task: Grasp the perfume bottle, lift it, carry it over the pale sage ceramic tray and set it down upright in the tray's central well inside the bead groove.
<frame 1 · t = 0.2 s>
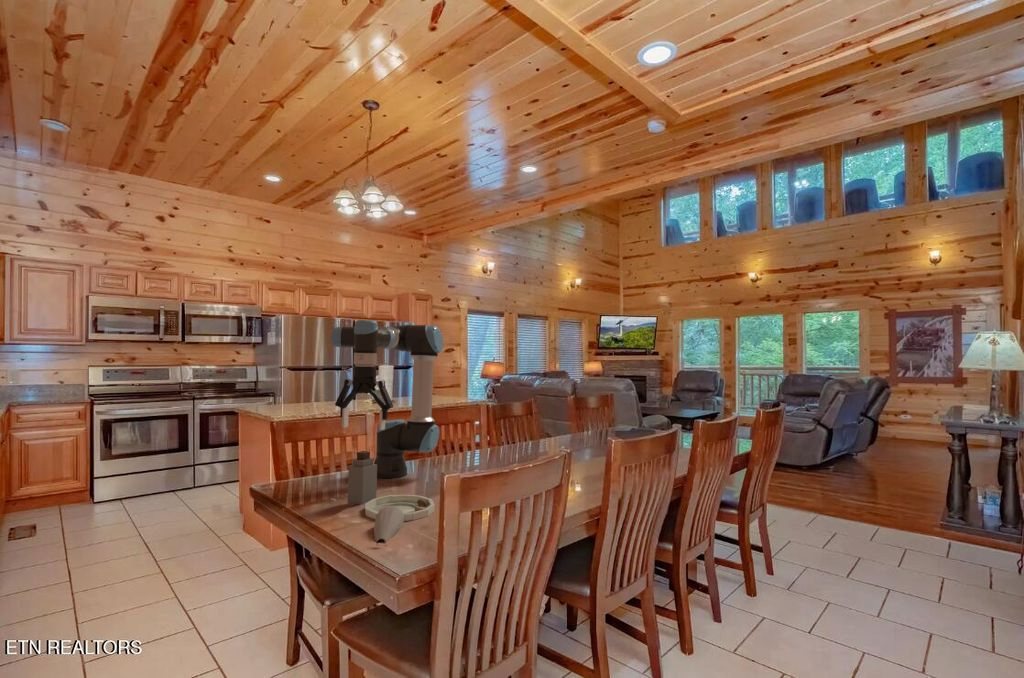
hand: (363, 428, 174), 27 cm above the table, fingers open, 13 cm apart
tray: (399, 513, 169), on the table
bead a: (397, 518, 161), point 1 cm above the table, touching tray
bead b: (419, 514, 166), point 1 cm above the table, touching tray
bead c: (421, 506, 174), point 1 cm above the table, touching tray
perfume bottle: (361, 504, 179), on the table
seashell: (387, 536, 150), on the table, touching tray
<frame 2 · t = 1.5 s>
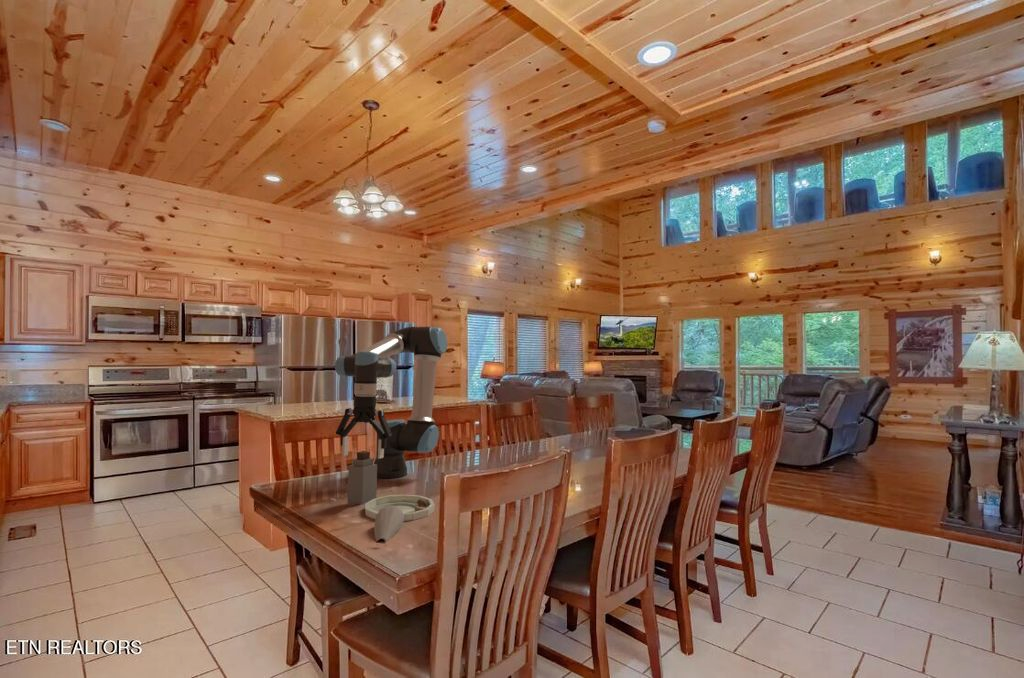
hand: (362, 456, 179), 16 cm above the table, fingers open, 13 cm apart
nothing on the table moved.
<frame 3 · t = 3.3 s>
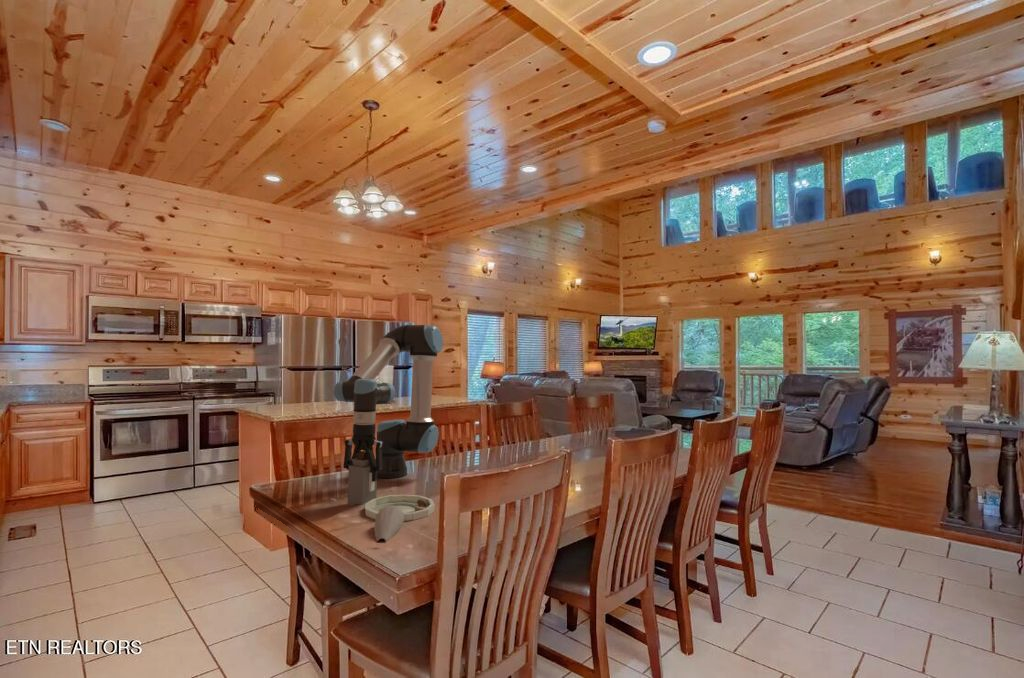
hand: (362, 489, 179), 5 cm above the table, fingers closed on perfume bottle, 6 cm apart
perfume bottle: (361, 504, 179), on the table, touching gripper
everything else where it was.
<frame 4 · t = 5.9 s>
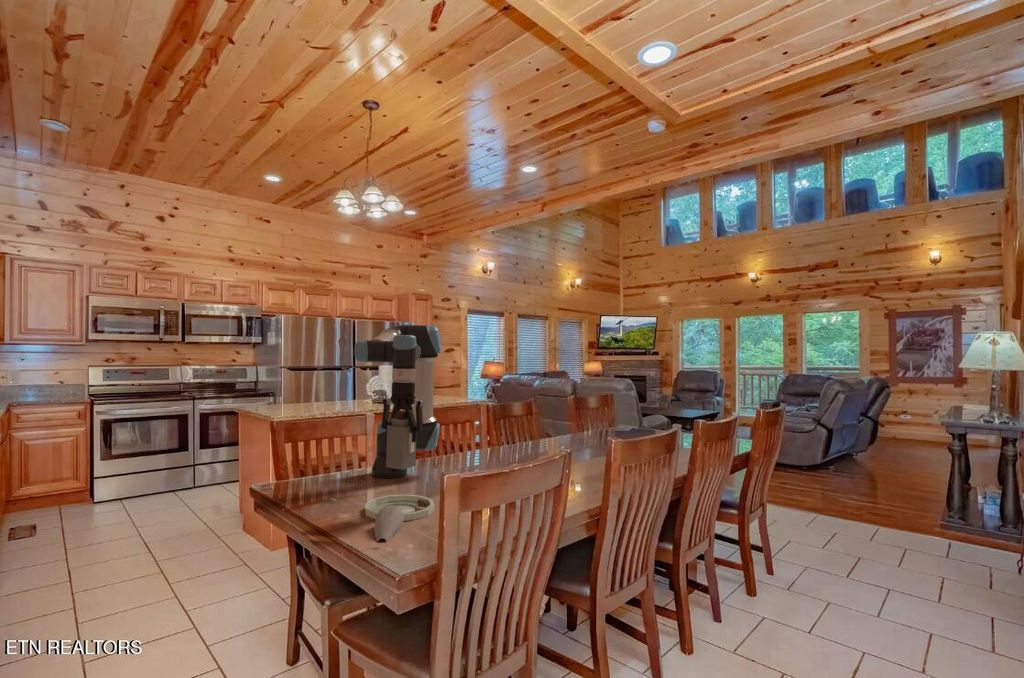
hand: (401, 451, 170), 21 cm above the table, fingers closed on perfume bottle, 6 cm apart
perfume bottle: (400, 467, 170), point 15 cm above the table, touching gripper
everything else where it was.
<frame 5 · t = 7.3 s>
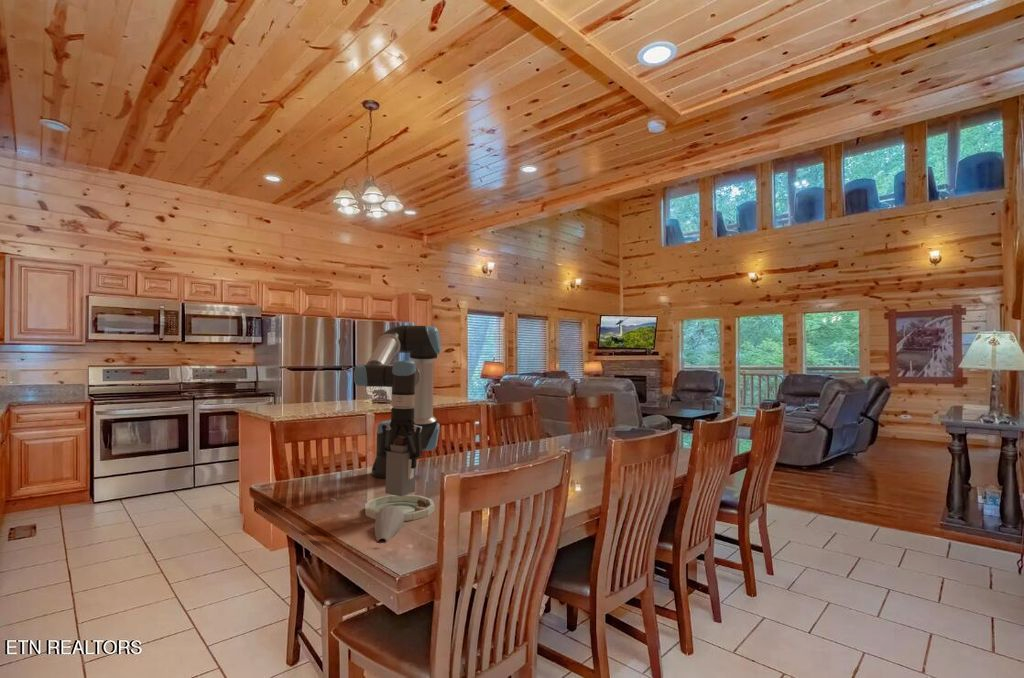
hand: (400, 477, 170), 12 cm above the table, fingers closed on perfume bottle, 6 cm apart
perfume bottle: (400, 493, 169), point 7 cm above the table, touching gripper
everything else where it was.
when the fingers open (7 cm above the table, at t = 8.6 s): perfume bottle stays where it is, resting on tray.
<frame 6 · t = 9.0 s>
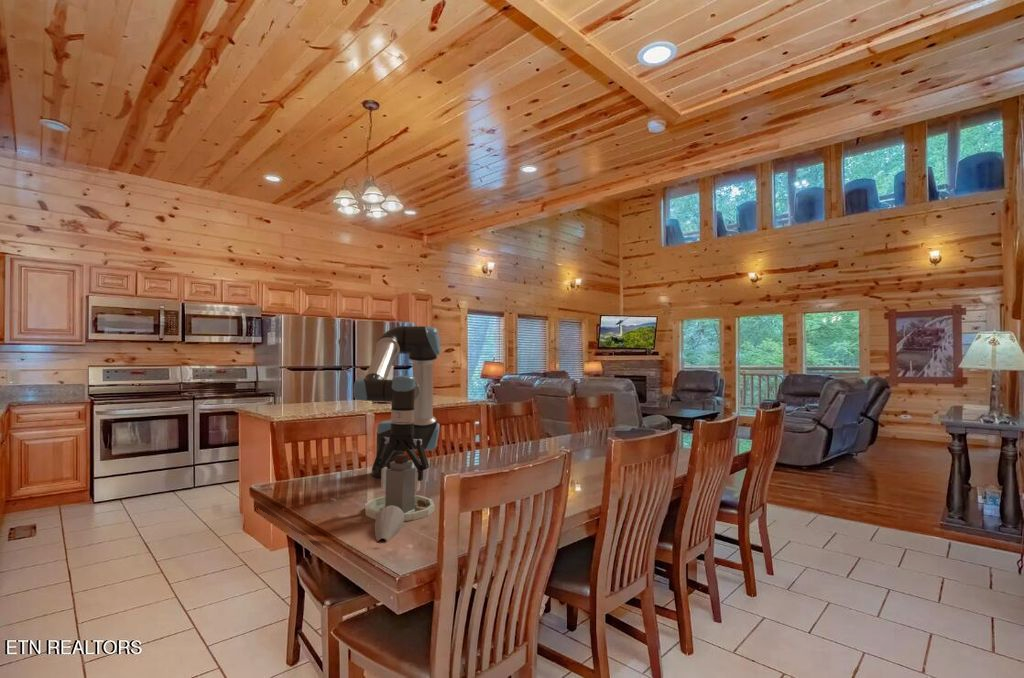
hand: (400, 489, 170), 8 cm above the table, fingers open, 11 cm apart
perfume bottle: (399, 510, 169), point 1 cm above the table, touching tray
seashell: (388, 535, 150), on the table
everything else where it was.
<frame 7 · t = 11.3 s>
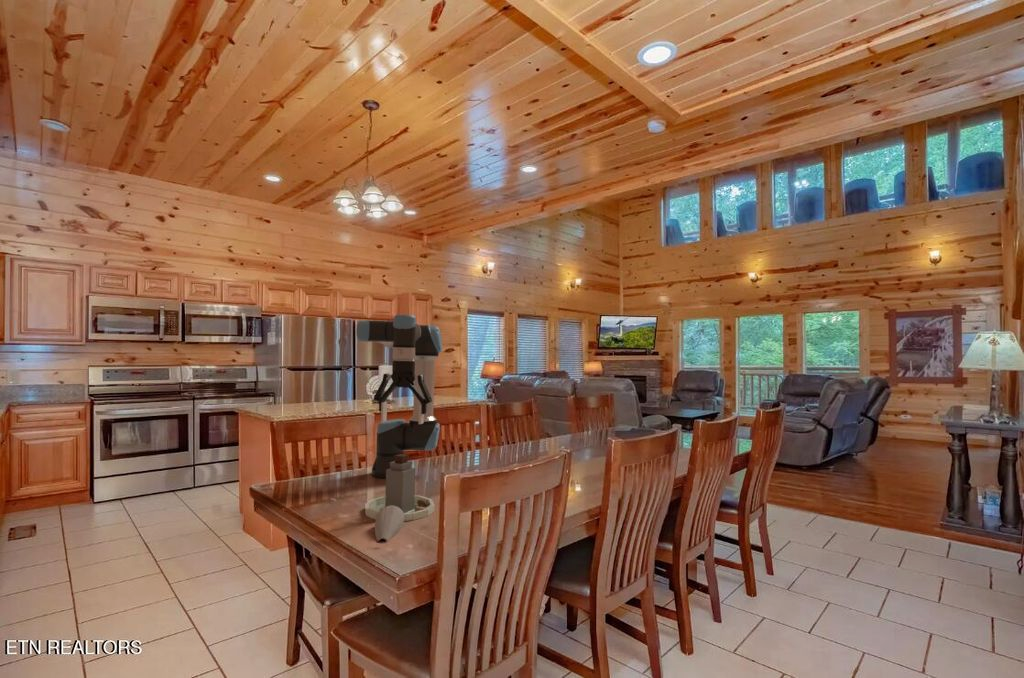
hand: (402, 422, 175), 29 cm above the table, fingers open, 13 cm apart
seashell: (388, 535, 150), on the table, touching tray
everything else where it was.
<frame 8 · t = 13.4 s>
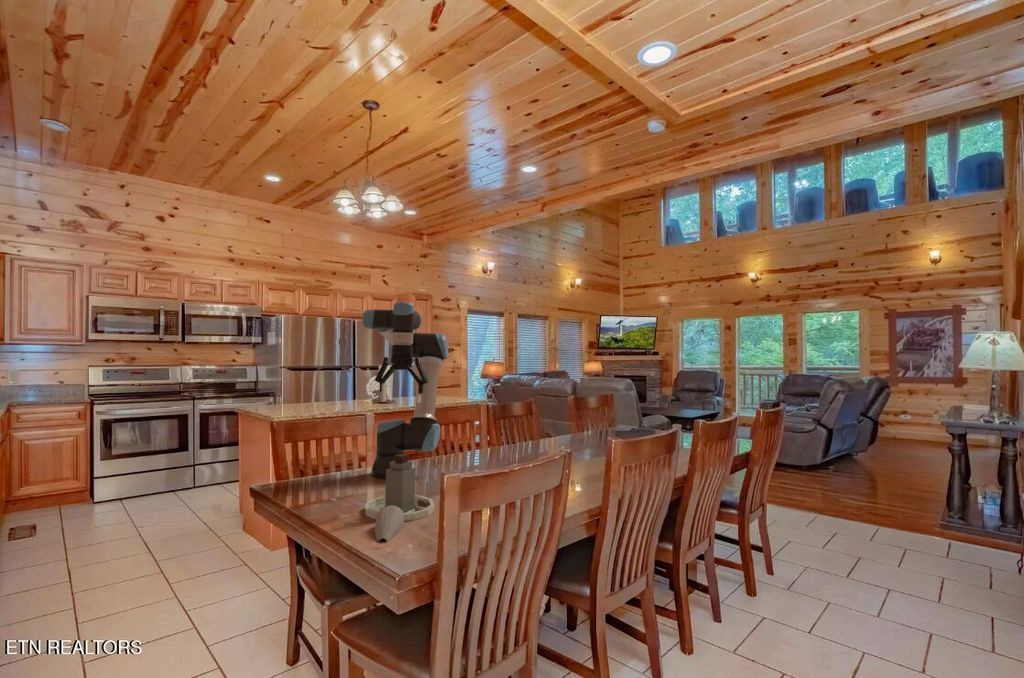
hand: (400, 402, 190), 35 cm above the table, fingers open, 13 cm apart
nothing on the table moved.
at the end: perfume bottle 0.0 cm from the tray (horizontally); perfume bottle point 1.0 cm above the table; perfume bottle tilted 0° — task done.
